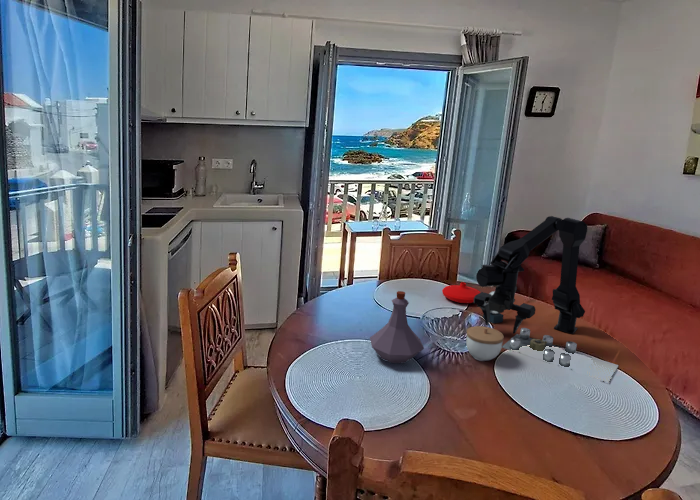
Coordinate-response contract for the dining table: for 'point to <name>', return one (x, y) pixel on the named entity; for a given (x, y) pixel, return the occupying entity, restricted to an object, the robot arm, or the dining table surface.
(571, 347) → the spacers
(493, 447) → the dining table surface
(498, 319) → the grey ring on stand
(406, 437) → the dining table surface
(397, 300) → the flask
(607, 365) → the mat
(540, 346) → the nut
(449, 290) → the red disc with nozzle
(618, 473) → the dining table surface
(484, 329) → the lidded jar
